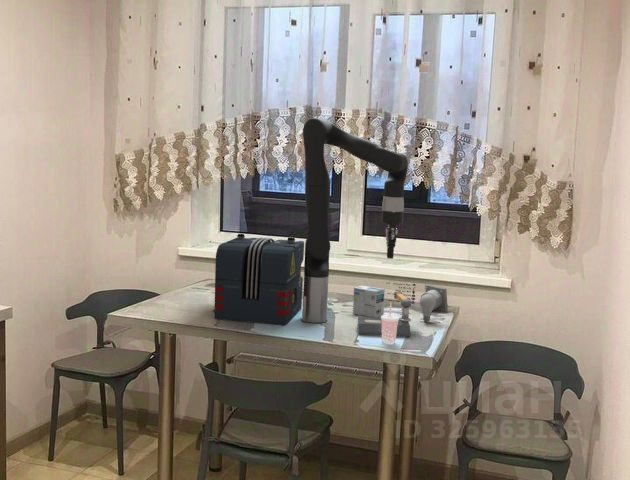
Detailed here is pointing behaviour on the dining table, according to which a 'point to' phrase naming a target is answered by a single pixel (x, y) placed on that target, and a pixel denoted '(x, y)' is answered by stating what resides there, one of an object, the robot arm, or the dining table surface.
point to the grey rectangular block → (375, 324)
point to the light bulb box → (368, 301)
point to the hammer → (402, 299)
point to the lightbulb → (427, 306)
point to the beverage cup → (389, 327)
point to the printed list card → (435, 291)
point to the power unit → (258, 280)
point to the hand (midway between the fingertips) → (389, 258)
